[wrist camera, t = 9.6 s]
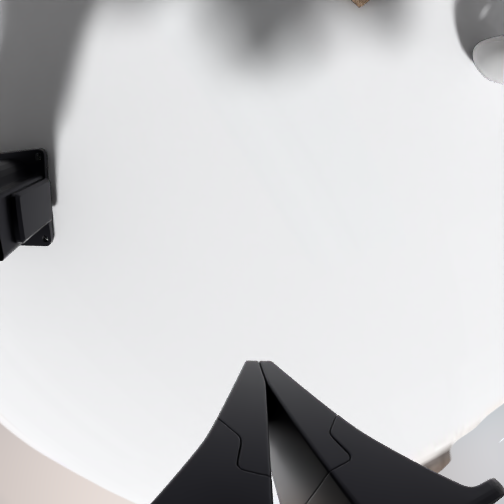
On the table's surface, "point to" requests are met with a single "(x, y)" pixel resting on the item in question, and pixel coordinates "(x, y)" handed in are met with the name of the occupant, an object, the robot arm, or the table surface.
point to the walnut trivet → (360, 2)
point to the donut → (490, 58)
